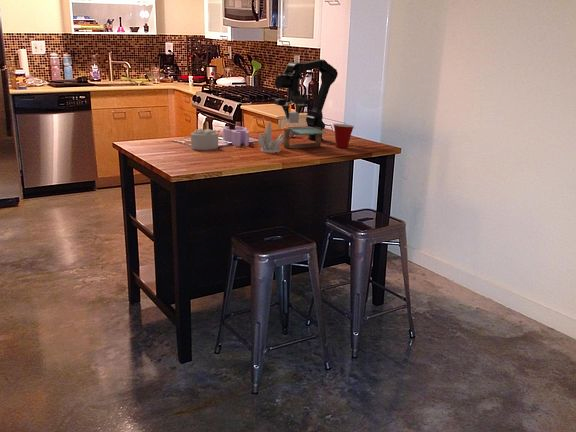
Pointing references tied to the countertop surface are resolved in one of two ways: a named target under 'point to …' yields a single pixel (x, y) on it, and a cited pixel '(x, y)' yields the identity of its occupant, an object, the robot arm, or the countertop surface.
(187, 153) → the countertop surface
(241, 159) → the countertop surface
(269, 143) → the crystal
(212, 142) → the lumpy-topped squat cylinder
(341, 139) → the plastic cup
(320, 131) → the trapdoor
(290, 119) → the stone
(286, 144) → the frame
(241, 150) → the countertop surface
